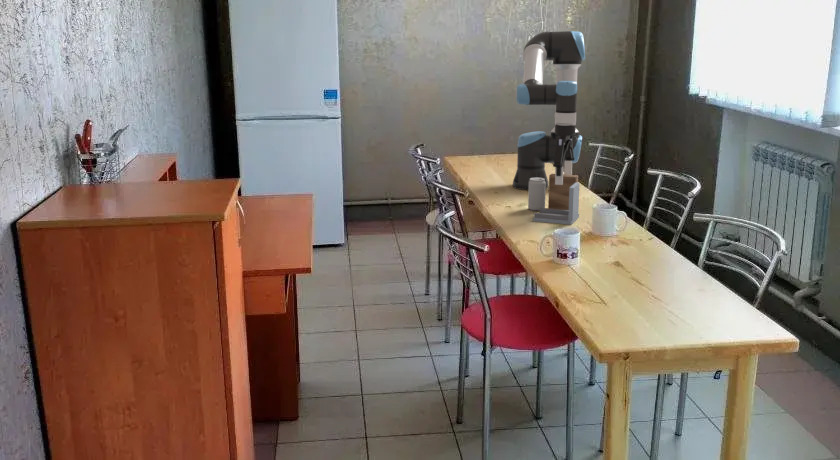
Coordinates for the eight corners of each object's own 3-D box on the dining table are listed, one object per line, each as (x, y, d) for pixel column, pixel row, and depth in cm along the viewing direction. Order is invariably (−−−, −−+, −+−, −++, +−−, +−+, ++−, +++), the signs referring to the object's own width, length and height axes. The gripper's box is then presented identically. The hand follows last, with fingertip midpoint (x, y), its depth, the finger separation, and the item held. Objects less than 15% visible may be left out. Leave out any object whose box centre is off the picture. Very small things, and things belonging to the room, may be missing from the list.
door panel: (550, 209, 300) (551, 173, 297) (576, 212, 296) (578, 175, 293) (548, 211, 297) (549, 175, 294) (574, 214, 293) (575, 177, 290)
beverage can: (544, 211, 297) (545, 180, 294) (527, 211, 299) (528, 180, 295) (545, 207, 303) (546, 177, 300) (528, 207, 305) (529, 176, 301)
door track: (541, 213, 295) (542, 179, 292) (579, 216, 289) (580, 182, 286) (532, 221, 284) (533, 185, 281) (571, 224, 279) (572, 188, 275)
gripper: (563, 119, 300) (561, 174, 306) (546, 127, 278) (544, 186, 284) (583, 120, 297) (581, 175, 303) (567, 128, 275) (565, 188, 281)
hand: (563, 181), depth 293 cm, fingers open, 13 cm apart
